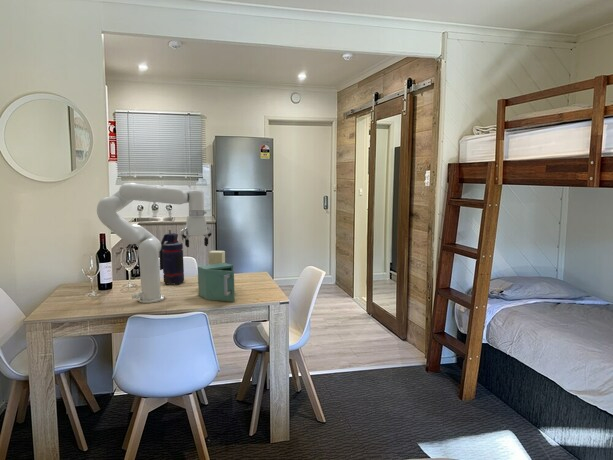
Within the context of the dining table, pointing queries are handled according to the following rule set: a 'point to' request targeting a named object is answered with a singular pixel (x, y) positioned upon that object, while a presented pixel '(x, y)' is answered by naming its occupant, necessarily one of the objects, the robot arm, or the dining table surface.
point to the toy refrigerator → (216, 257)
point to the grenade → (171, 259)
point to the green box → (220, 285)
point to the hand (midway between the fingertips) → (196, 246)
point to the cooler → (203, 275)
